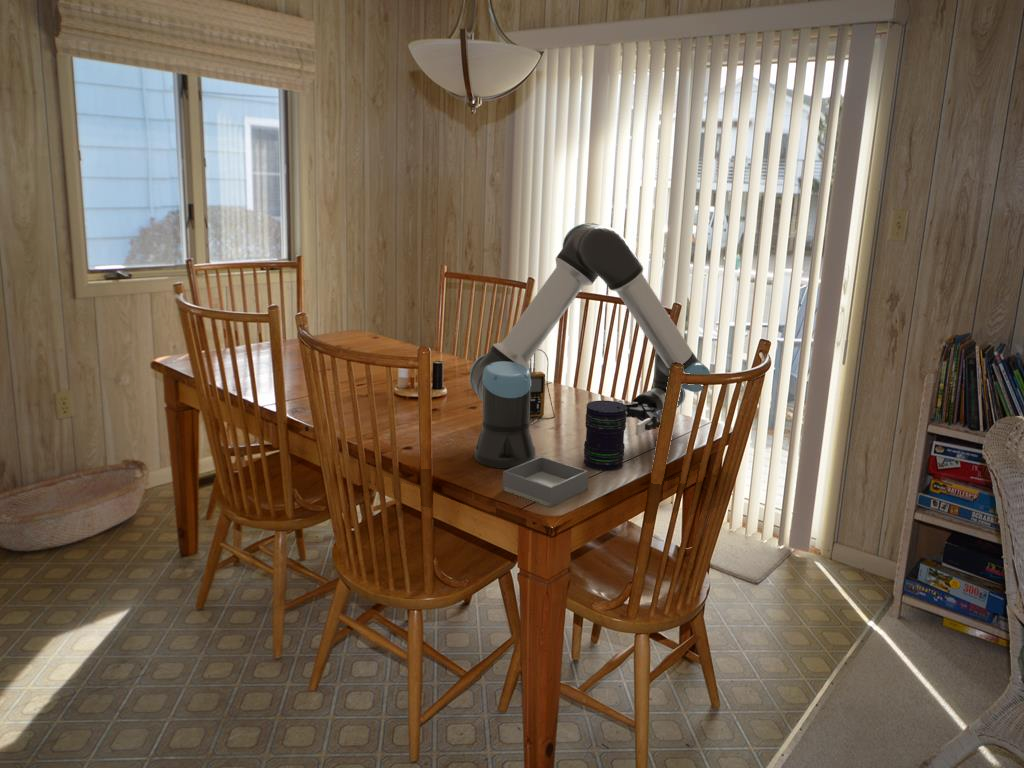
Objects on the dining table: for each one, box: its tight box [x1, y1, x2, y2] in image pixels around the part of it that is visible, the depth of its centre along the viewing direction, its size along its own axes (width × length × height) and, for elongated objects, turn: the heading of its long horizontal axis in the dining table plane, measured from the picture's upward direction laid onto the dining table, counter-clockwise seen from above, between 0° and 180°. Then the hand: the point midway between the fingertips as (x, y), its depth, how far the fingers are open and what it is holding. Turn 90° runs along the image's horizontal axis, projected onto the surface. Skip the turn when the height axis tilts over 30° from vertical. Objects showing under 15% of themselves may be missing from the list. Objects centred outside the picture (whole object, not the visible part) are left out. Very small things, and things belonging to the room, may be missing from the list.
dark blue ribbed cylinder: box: [583, 400, 627, 472], centre depth 191 cm, size 10×10×15 cm
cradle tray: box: [502, 456, 589, 508], centre depth 175 cm, size 14×14×4 cm
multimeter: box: [529, 348, 556, 425], centre depth 224 cm, size 15×10×20 cm
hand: (612, 424), depth 192 cm, fingers open, 13 cm apart
